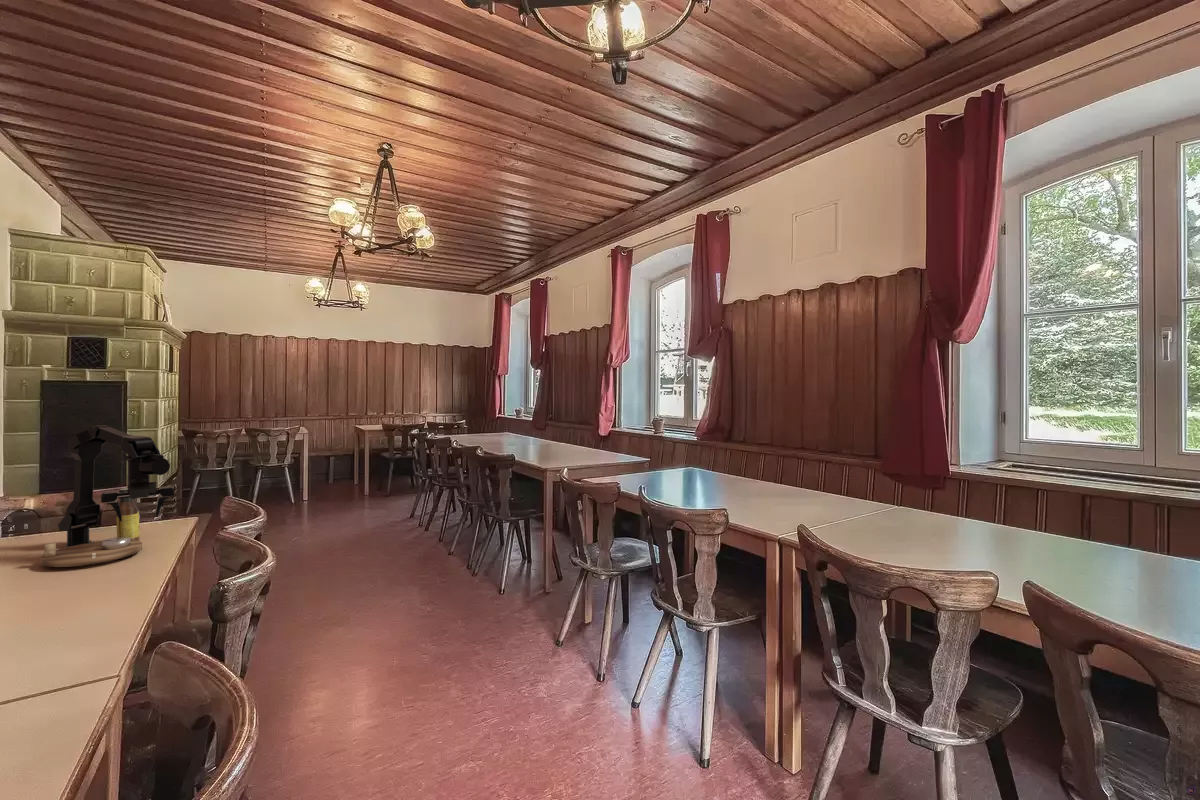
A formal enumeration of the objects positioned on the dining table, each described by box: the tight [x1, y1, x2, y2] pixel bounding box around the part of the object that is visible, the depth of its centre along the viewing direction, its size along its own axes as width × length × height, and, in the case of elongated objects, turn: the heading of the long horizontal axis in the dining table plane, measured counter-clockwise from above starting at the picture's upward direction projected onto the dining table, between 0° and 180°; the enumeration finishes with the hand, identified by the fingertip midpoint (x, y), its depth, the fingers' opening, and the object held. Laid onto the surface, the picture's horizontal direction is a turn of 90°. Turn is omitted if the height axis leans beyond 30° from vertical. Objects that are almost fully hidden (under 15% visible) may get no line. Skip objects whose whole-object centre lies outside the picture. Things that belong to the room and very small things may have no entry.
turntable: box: [40, 540, 143, 568], centre depth 172 cm, size 24×24×6 cm
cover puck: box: [102, 536, 130, 550], centre depth 176 cm, size 7×7×2 cm
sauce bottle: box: [115, 487, 141, 541], centre depth 191 cm, size 7×6×20 cm
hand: (139, 518), depth 179 cm, fingers open, 9 cm apart
